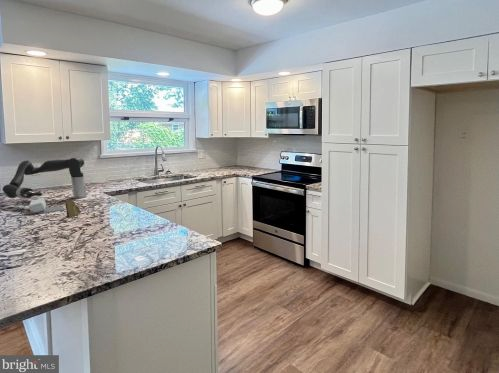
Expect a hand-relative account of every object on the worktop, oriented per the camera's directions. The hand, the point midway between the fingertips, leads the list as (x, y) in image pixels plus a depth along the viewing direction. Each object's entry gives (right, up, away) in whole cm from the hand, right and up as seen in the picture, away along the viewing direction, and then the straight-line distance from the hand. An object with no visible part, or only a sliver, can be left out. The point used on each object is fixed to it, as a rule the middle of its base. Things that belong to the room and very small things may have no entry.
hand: (40, 194), depth 239 cm
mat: (+9, -11, -5) cm, 15 cm away
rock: (+34, -13, -19) cm, 41 cm away
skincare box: (-1, -6, -1) cm, 6 cm away
